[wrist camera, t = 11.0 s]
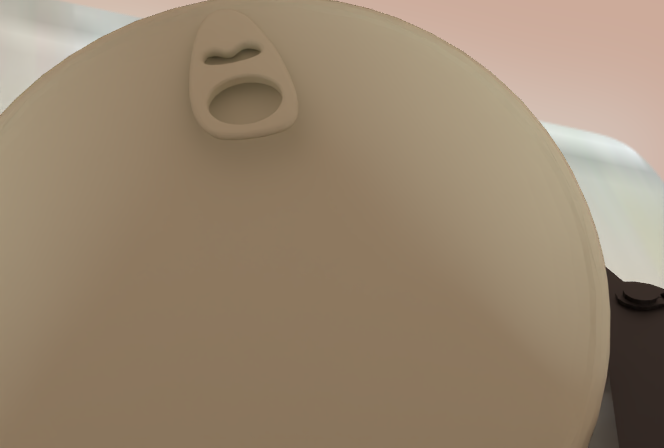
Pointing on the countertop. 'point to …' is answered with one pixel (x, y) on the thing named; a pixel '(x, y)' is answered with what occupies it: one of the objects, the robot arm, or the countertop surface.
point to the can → (291, 244)
